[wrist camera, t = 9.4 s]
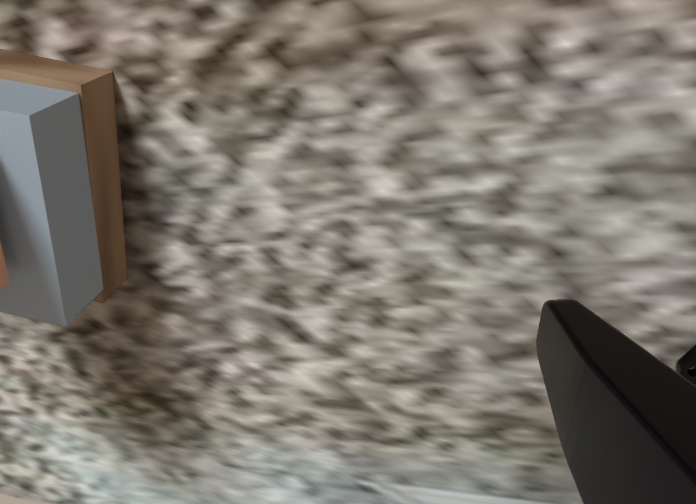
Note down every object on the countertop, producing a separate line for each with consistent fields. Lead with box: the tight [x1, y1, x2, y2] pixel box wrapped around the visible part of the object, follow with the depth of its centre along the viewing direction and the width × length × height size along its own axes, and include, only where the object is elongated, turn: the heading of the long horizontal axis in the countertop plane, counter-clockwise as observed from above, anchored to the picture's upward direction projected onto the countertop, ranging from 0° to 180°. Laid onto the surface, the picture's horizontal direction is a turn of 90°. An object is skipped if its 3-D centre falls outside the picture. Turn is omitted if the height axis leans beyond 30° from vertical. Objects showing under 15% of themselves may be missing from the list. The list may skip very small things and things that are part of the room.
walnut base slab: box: [0, 49, 127, 303], centre depth 22 cm, size 9×9×2 cm
